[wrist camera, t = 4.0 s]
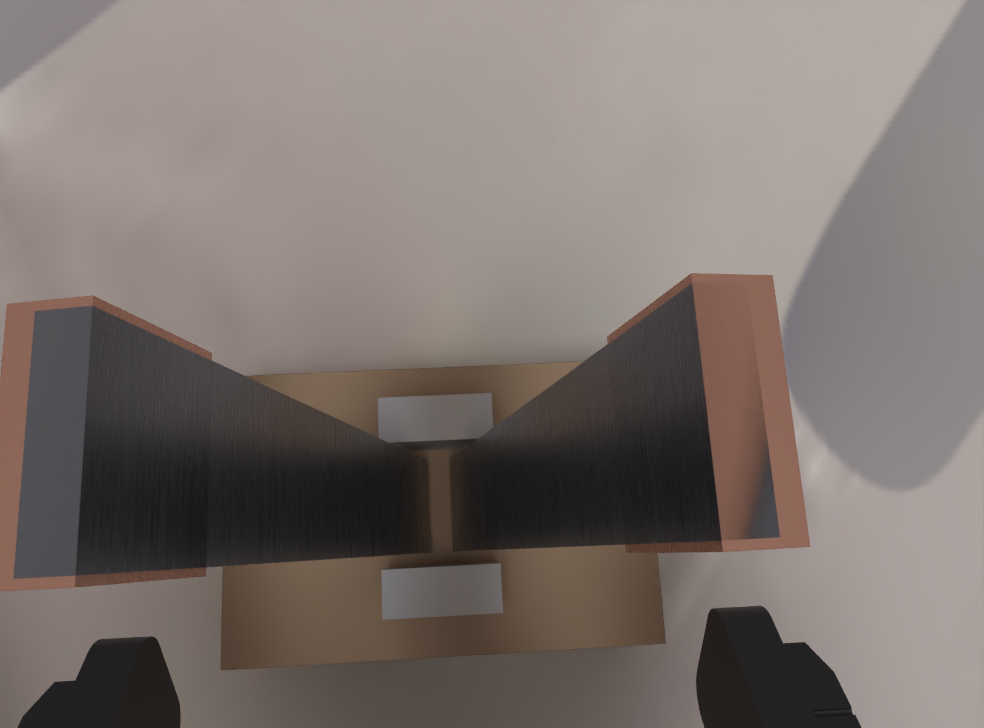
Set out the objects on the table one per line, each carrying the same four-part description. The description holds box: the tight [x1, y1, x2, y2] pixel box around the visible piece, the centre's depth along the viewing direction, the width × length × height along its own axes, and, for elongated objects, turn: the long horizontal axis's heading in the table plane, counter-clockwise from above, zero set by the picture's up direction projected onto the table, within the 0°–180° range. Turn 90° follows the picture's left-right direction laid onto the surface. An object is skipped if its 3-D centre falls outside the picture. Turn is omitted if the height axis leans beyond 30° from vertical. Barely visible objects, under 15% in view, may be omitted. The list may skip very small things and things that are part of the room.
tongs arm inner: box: [0, 296, 431, 591], centre depth 15 cm, size 1×3×15 cm, turn 4°
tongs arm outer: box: [449, 273, 810, 553], centre depth 15 cm, size 1×3×15 cm, turn 3°
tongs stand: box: [221, 362, 666, 670], centre depth 23 cm, size 12×8×5 cm, turn 93°
